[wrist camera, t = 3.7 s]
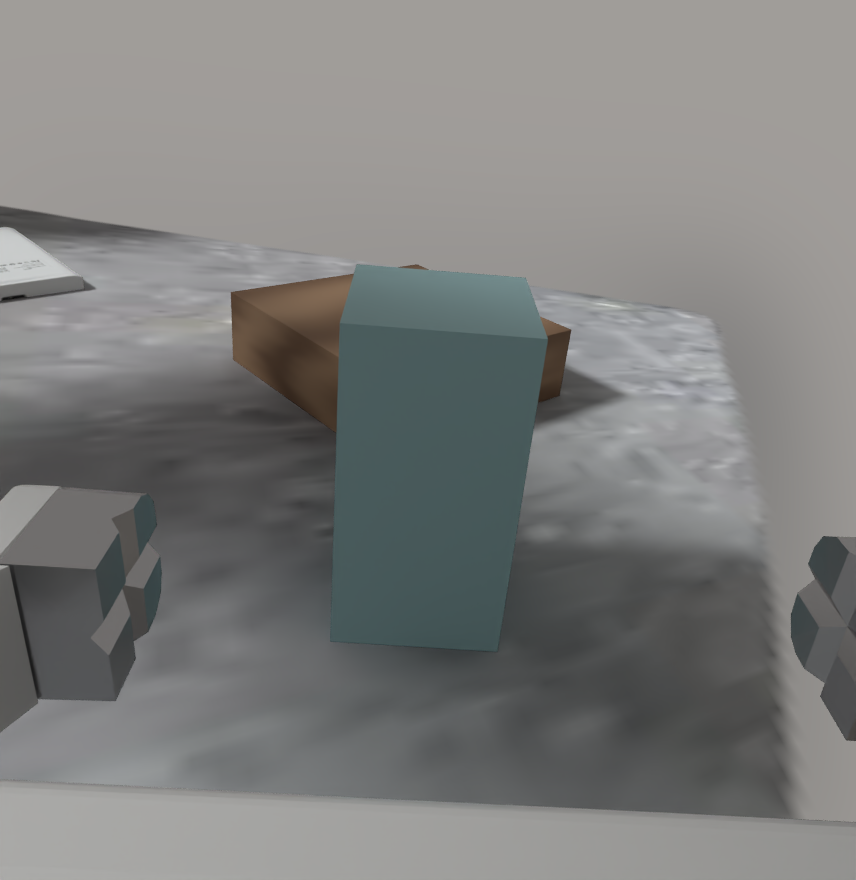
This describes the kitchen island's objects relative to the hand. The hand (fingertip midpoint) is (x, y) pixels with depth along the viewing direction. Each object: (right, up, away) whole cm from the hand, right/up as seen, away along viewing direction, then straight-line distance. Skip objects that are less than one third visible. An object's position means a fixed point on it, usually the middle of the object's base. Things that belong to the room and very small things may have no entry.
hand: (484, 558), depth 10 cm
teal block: (-1, -4, +16) cm, 16 cm away
